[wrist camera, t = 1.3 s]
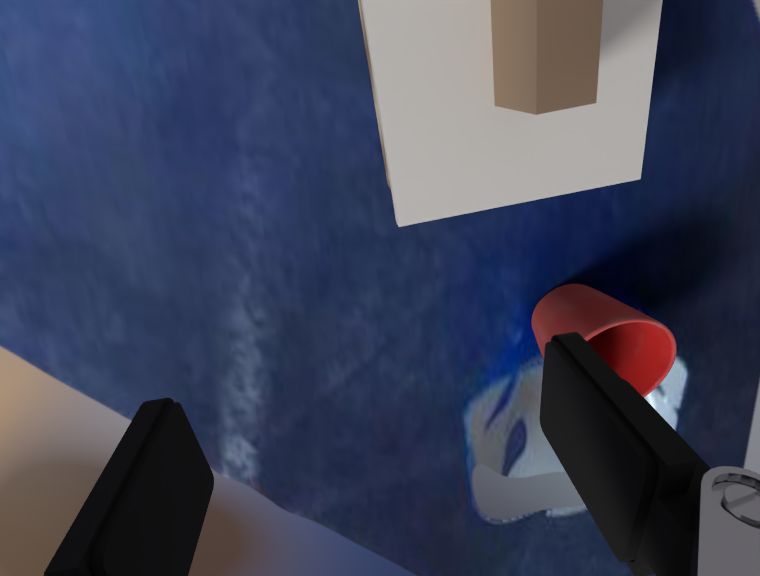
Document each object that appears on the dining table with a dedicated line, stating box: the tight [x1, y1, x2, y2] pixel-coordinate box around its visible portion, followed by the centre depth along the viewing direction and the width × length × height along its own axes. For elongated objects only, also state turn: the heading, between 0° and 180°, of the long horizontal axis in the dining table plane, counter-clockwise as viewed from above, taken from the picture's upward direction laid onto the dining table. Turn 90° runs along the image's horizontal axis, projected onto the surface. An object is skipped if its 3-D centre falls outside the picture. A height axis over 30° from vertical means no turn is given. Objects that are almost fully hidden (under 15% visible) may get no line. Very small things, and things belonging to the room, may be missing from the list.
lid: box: [361, 0, 663, 227], centre depth 22 cm, size 21×17×8 cm
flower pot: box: [532, 284, 676, 398], centre depth 42 cm, size 11×11×10 cm
